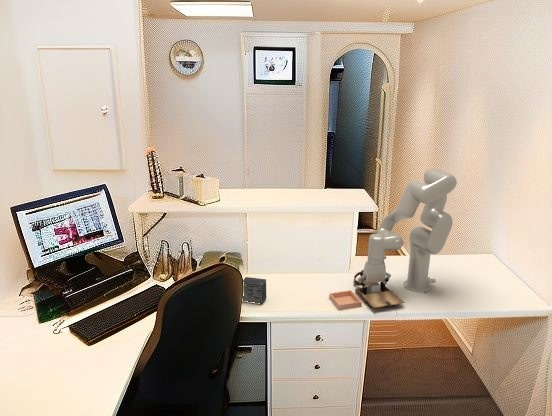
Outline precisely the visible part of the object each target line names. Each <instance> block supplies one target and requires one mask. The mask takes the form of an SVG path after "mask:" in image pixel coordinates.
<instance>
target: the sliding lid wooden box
mask: <svg viewBox="0 0 552 416" xmlns="http://www.w3.org/2000/svg"><path fill="white" fill-rule="evenodd" d="M354 289H355V290H354V294H355V295H356V296H357V297H358V298H359V299H360V300H361V301H362V303H364V304H365V305H370V306H371V307H372V308H373V309H376V308H377V309H378V308H383V307H389V306H394V305H401V304H405V301H404V300H403V299H402V298H401V297H399V295H398V294H397V293H395V291H393V290H390V288H388V286H386V285H385V291H384V292H382V291H381V290H380V292H379V293H373V294H367V295H365V294H364V293H363V292H362V286H360V287H355V288H354Z"/></svg>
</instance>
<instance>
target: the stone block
mask: <svg viewBox="0 0 552 416" xmlns="http://www.w3.org/2000/svg"><path fill="white" fill-rule="evenodd" d="M380 287H381V285H380V282H377V283H369V284H368V285H367V294H373V293H379V292H380Z"/></svg>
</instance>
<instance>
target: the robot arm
mask: <svg viewBox="0 0 552 416" xmlns="http://www.w3.org/2000/svg"><path fill="white" fill-rule="evenodd" d="M423 181H424V182H421V181H419V180H413V181H410V182H408V184H407V186H406V187H405V189H404V192H403V193H402V196H401V199H400V200H399V202H398V204H397V207H395V209H394V210H393V211H392V212H390V213H388V215H386V216H385V217H384V218H383V220H382V221H381V223H380V225H379V227H378V229H377V232H376V233H372V234H370V235H369V237H368V247H367V249H368V251H367V261H365V264H364V267H363V270H364V271H363V275H362V276H358V278H357V281H359V283H360V284H361V285H362V286H361V287H362V292H363V293H364V294H365V295H367V285H368V284H369V283H377V282H378V283H379V284H380V285H381V287H380V290H381V291H382V292H384V291H385V286H386V285H387V283H388V282H389V281H390V279H391V277H392V275H391V273H388V272H386V271H387V270H386V263H385V260H387V256H386V255H385V254H386V253H385V251H398V250H401V249H402V247H403V246H404V240H403V238H402V237H401V236H400V235H398V234H397V233H396V232H394V231H392V230H393V229H394V227H395V225H396V224H397V223H399V222H400V221H403V220H406V219H412V218H413V217H414V216H415V215H416V212H417V209H418V208H419V206H420V204H424V206H423V208H422V210H421V214H420V217H419V218H420V219H419V220H420V222H421V223H422V224H423V225H425V226H427V227H428V228H430V229H431V230H430V229H428V228H426V227H424V226H416V227H414V228H413V229H412V230H410V233H409V236H408V238H409V239H408V241H409V250H410V251H409V257H408V268H407V270H408V271H407V279H406V280H405V281H404V282H403V287H404V288H405V289H406V290H408V291H411V292H415V293H424V294H425V293H427V292H429V291H430V290H431V286H430V284H433V283H434V284H435V283H436V279H435V278H431V277H429V271H430V261H431V255H436V254H439V253H440V252H441V251H442V250H443V248H444V247H445V244H446V242H447V240H448V237H449V236H450V232H451V230H452V227H453V218H452V215H450V213H448V212H446V211H444V209H445V207H446V203H447V201H448V200H447V199H448V195H449V194H450V193H451V192H453V191H454V189H455V188H456V186H457V184H458V182H457V178H456V176H455V175H453V174H451V173H448V172H445V171H443V170H439V169H436V168H428V169H426V170H425V172H424V174H423ZM362 280H364V281H363V282H362Z"/></svg>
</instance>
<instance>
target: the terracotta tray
mask: <svg viewBox="0 0 552 416" xmlns="http://www.w3.org/2000/svg"><path fill="white" fill-rule="evenodd" d="M328 297H329V300H330V301H331V302H332V304H333V305H334V306H335V307H336V308H337V310H338V311H343V310H349V309H355V308H360V307H362V303H363V301H362V300H361V299H360V298H359V297H358V296H357V294H356V293H355V292H354V291H353V290H352V289H351V290H343V291H337V292H331V293H330V292H329V295H328Z"/></svg>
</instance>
